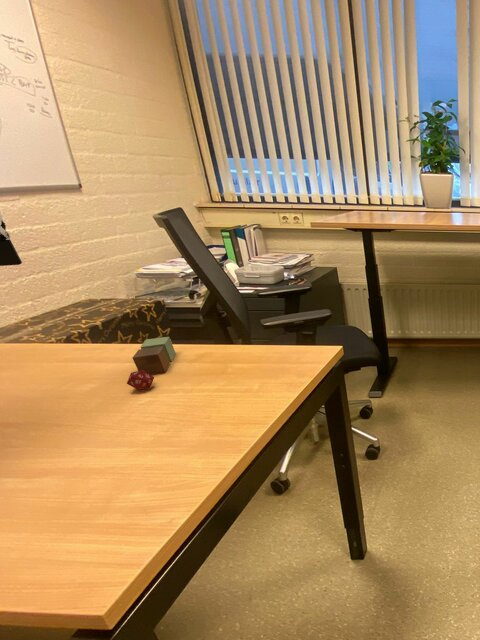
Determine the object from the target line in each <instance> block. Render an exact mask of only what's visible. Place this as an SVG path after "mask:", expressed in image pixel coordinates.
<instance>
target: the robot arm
mask: <svg viewBox="0 0 480 640" xmlns="http://www.w3.org/2000/svg"><path fill="white" fill-rule="evenodd" d="M22 263H23V261H22V259H21V257H20V255H19V254H18V252H17V249H16V248H15V246H14V244H13V241H12V240H11V235H10V234H9V232H8V231H7V225H6V223H5V222H4V220H3V215H2V212H1V211H0V267H5V266H8V267H9V266H20V265H22Z"/></svg>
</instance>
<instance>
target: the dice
mask: <svg viewBox="0 0 480 640" xmlns="http://www.w3.org/2000/svg"><path fill="white" fill-rule="evenodd" d="M154 379H155V376H153V375H150V374H148V373H147V372H145V371H144V370H142V371H138V370H137V371H133V372H130V374H129V376H128V379H127V382H126V385H128V386H130V387H131V388H134V389H136V390H137V391H142V390H148V389H151V387H152V385H153V383H154Z"/></svg>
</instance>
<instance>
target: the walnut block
mask: <svg viewBox="0 0 480 640" xmlns="http://www.w3.org/2000/svg"><path fill="white" fill-rule="evenodd" d="M132 360H133V363H134V365H135V367H136V369H137V371H142V370H144V371H145V372H147V373H148V374H150V375H152V376H153V375H158V374H166V373H167V370H168V369H169V367H170V365H171V362H169V360H168V358H167V355H166V353H165V350H164V348H163V346H162V347H155V348H147V349H141V348H140V349H137V350H136V352H135V354H134V355H132Z"/></svg>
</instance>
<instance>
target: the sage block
mask: <svg viewBox="0 0 480 640" xmlns="http://www.w3.org/2000/svg"><path fill="white" fill-rule="evenodd" d="M162 346H163V348H164V350H165V353H166V355H167V358H168V360H169V363H171V362H173V360H174V358H175V357H176V355H177V352H176V350H175V348H174V345H173V343H172V340H171V338H170V336H164V337H163V336H162V337H155V338H148V339H145V340H144V341H143V343H142V344H141V345H140V349H147V348H155V347H162Z"/></svg>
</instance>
